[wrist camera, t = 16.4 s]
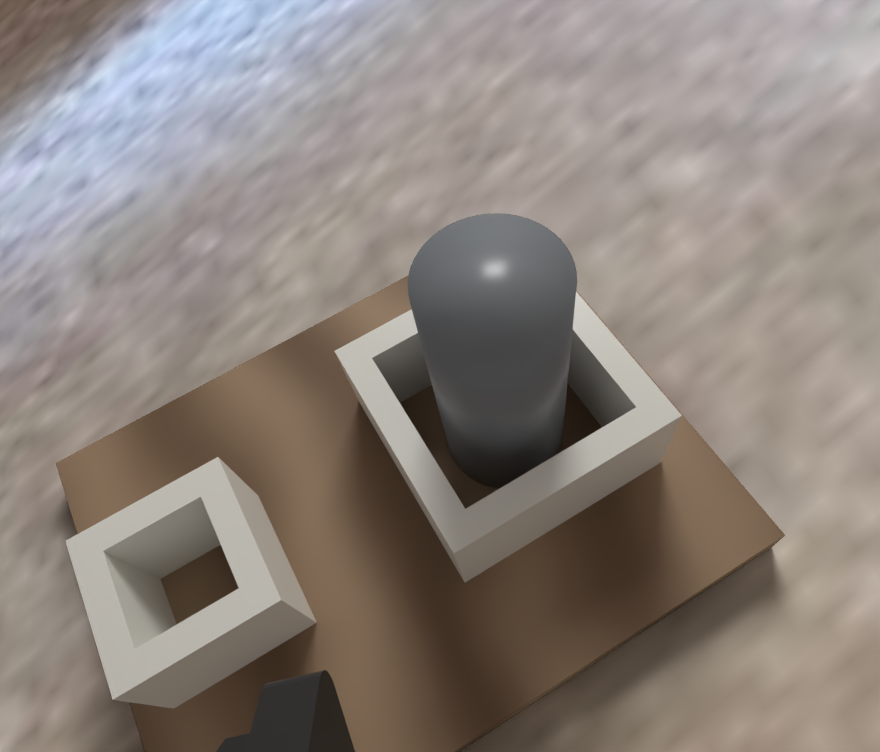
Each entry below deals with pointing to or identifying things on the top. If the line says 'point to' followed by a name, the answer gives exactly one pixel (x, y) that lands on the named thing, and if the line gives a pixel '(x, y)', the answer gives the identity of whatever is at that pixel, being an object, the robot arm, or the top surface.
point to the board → (409, 551)
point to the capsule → (496, 340)
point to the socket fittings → (262, 557)
